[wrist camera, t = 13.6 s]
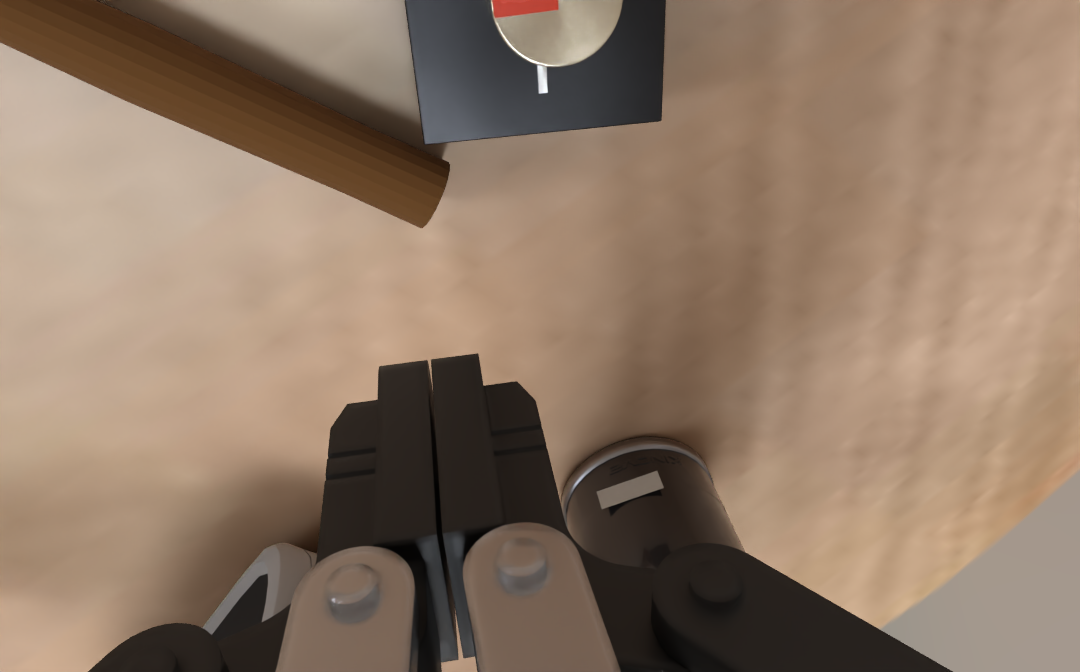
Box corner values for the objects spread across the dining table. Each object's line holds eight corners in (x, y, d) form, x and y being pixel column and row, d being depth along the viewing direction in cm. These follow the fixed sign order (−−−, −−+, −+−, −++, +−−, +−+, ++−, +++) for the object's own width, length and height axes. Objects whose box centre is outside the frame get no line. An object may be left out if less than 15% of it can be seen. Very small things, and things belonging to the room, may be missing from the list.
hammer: (481, 96, 35) (-426, -409, 23) (488, 119, 32) (-531, -437, 20) (367, 303, 39) (-432, -28, 28) (364, 337, 37) (-518, -11, 25)
